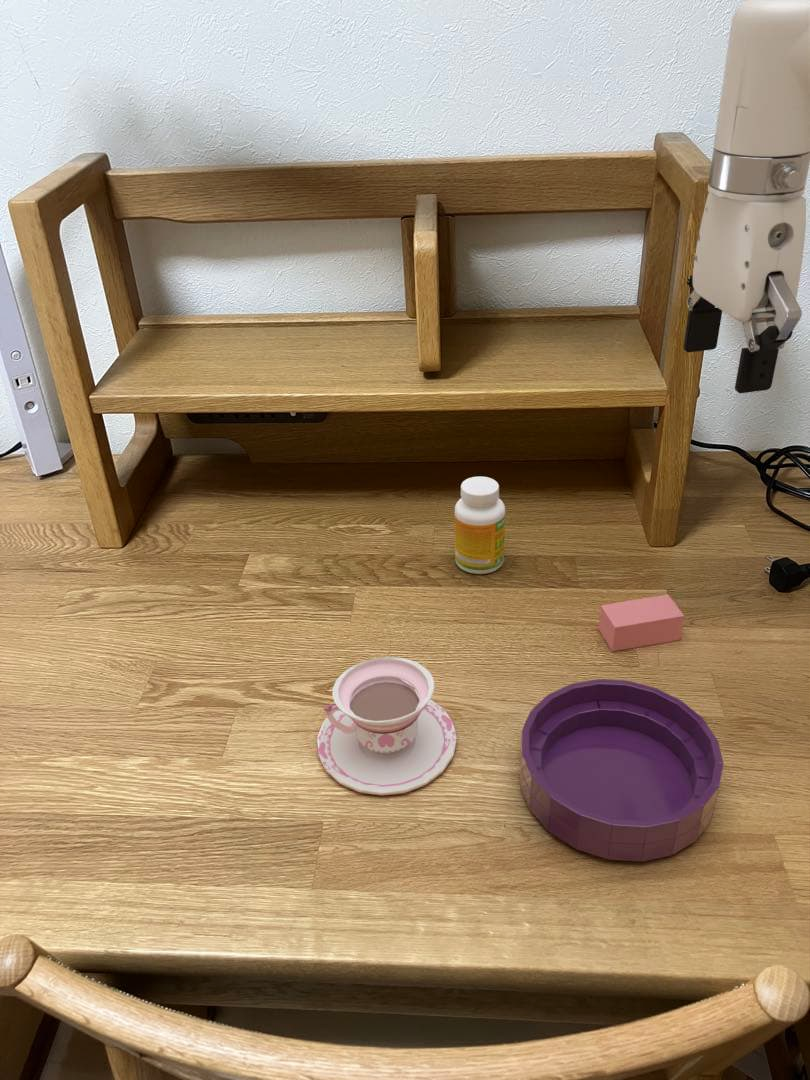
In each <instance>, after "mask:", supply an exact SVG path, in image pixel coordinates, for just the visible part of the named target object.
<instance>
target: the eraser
mask: <svg viewBox="0 0 810 1080" xmlns="http://www.w3.org/2000/svg"><path fill="white" fill-rule="evenodd" d="M599 610H600V611H599V619H598V631H599V633H600V634H601V636H602V637H603V639H604V641H605V642H606V644H607V646H608V647H609V649H610V650H611V652H619V651H624V650H630V649H635V648H640V647H646V646H652V645H659V644H663V643H669V642H676V641H681V638H682V632H683V625H684V620H685V615H684V613H683V612H682V610H681V609H680V608H679V606H678V605H677V604H676V603H675V601H674V600H673V599H672V597H671V596H670V595H669V594H662V595H655V596H649V597H644V598H637V599H631V600H625V601H620V602H619V601H618V602H614V603H613V602H612V603H607V604H602V605H600V609H599Z"/></svg>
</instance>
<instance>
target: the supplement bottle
mask: <svg viewBox="0 0 810 1080" xmlns="http://www.w3.org/2000/svg"><path fill="white" fill-rule="evenodd" d="M505 537H506V505H505V503H504V502H503V500H502V499H501V498H500V485H499V483H498V481H496V480H495V479H493V478H491V477H488V476H472V477H467V478H466V479H464V480H463V481H462V482H461V485H460V498H459V499H458V501H457V502H456V504H455V506H454V560H455V564H456V565H457V566H458V568H459V569H461V570H462V571H463V572H466V573H469V574H474V575H485V574H486V575H487V574H490V573H494V572H495V571H498V570H499V569H500V568H501V567H502V566H503V565H504V561H505Z"/></svg>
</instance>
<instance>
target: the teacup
mask: <svg viewBox="0 0 810 1080" xmlns="http://www.w3.org/2000/svg"><path fill="white" fill-rule="evenodd" d="M434 691H435V679H434V677H433V675H432V674H431V672H430V670H429V669H427V667H425V666H424V665H422V664H420V663H418V662H416V661H414V660H411V659H408V658H404V657H397V656H384V657H382V656H381V657H375V658H371V659H367V660H364V661H361V662H359V663H356V664H354V665H352V666H350V667H349V668H347V669H346V670H344V671H343V672H342V673H341V674H340V675H339V677H338V678H337V679H336V680H335V682H334V684H333V687H332V693H331V694H332V700H333V702H334V703H333V704H328V705H327V706H324V707H323V711H325V712H326V714H327V717H326V718H325V719H324V720H323V721H322V724H321V725H320V729H319V732H318V734H317V736H316V742H317V757H318V758H319V761H320V762H321V765H322V767H323V769H324V771H325V773H327V774H328V775H329V776H331V778H333V780H335V781H336V782H337V783H338V784H339V785H341V786H343V787H346V788H348V789H351V790H353V791H355V792H358V793H359V794H360V793H361V794H369V795H374V796H375V795H376V796H390V795H398V794H399V795H400V794H406V793H408V792H409V793H410V792H411V791H413V790H416V789H419V788H422V787H425V786H427V785H428V784H429V783H431V782H432V781H434V780H435V779H436V778H437V777H439V776H440V775H441V774H443V773H444V772H445V770H446V768H447V767H448V765H449V764H450V763H451V761H452V760H453V758H454V755H455V751H456V746H457V742H458V737H457V733H456V728H455V723H454V721H453V720H452V718H451V717H450V715H449V713H448V712H447V711H446V710H445V708H444V707H442V706H441V705H440V704H438V703H436V701H434V700H433V699H432V697H433V695H434V693H435V692H434Z"/></svg>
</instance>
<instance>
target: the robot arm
mask: <svg viewBox="0 0 810 1080" xmlns="http://www.w3.org/2000/svg"><path fill="white" fill-rule="evenodd" d="M722 77H723V78H722V85H721V92H720V99H719V106H718V112H717V113H718V114H717V119H716V127H715V132H714V133H715V134H714V140H713V141H714V142H713V148H712V156H711V161H710V162H711V163H710V169H709V175H708V182H707V183H708V184H707V192H708V193H707V198H706V201H705V205H704V209H703V212H702V217H701V222H700V226H699V231H698V237H697V242H696V247H695V250H696V253H695V260H694V268H693V276H692V275H691V276H690V279H688V278H686V279H687V280H688V281H689V282H687V280H686V285H687V286H688V285H689V287H690V292H689V296H688V297H687V299H686V305H687V309H688V313H687V319H686V321H687V322H686V327H685V335H684V339H683V350H684V351H685V352H686V353H697V352H703V351H712V350H715V349H716V348H717V347H718V340H719V335H720V330H721V329H720V328H721V323H722V317H723V316H722V315H723V312H724V313H725V314H727V315H728V316H730V317H731V318H733V319H734V320H736V321H738V322H741V324H742V327H743V332H744V337H745V342H746V346H747V347H742V348H741V351H740V357H739V362H738V366H737V367H738V368H737V373H736V380H735V385H734V390H735V391H736V392H737V393H738V394H748V393H755V392H762V391H768V390H770V389H771V388H772V385H773V380H774V375H775V370H776V365H777V361H778V354H779V350H781V349H783V348H784V347H785V343H786V342H787V341H789V340H790V338H791V337H792V336H793V331H794V330H795V328H796V327H797V325H798V323H799V322H800V320H801V318H802V315H803V311H802V308H801V307H800V304H799V303H798V301H797V296H798V291H799V285H800V278H801V273H802V265H803V258H804V249H805V239H806V230H807V229H806V227H807V226H806V225H807V224H806V223H807V199H806V197H804V193H805V189H806V184H807V178H808V175H809V169H810V0H746V1H744V2H743V3H741V4H740V5H739V6H738V8H737V9H736V10H735V12H734V14H733V16H732V19H731V24H730V28H729V33H728V42H727V49H726V56H725V64H724V71H723V76H722ZM760 309H761V310H762V309H764V311H756V312H754V310H760ZM759 323H766V325H767V327H766V328H765V329H764V330H763V331H761V332H760V333H759V329H758V324H759Z"/></svg>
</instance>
